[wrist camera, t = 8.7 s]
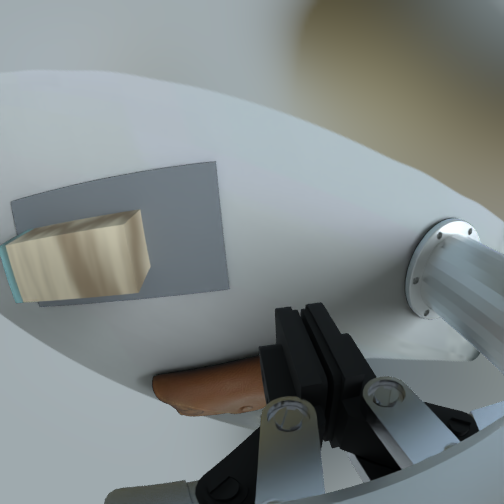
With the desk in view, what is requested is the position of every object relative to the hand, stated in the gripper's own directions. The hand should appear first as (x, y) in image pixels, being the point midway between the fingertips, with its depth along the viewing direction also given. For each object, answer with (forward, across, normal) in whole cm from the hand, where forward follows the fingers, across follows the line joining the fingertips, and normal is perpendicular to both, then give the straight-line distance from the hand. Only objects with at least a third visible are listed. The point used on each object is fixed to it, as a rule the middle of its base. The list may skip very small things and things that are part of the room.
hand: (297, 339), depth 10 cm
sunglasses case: (+17, +3, +17) cm, 24 cm away
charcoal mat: (+15, +13, 0) cm, 20 cm away
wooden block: (+12, +9, 0) cm, 15 cm away
